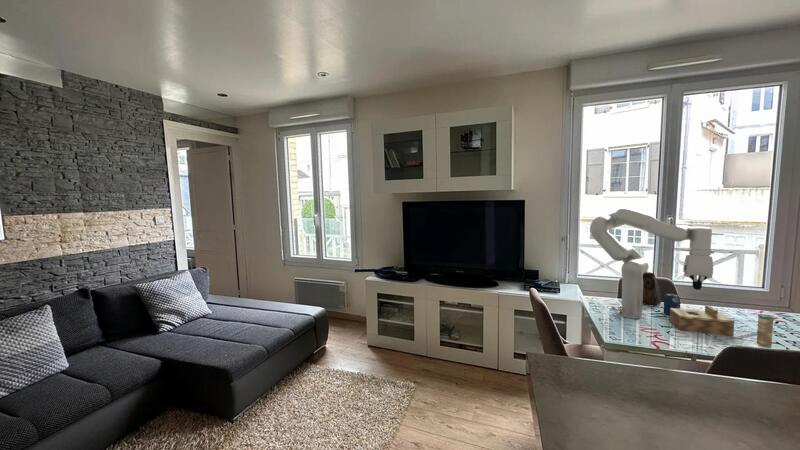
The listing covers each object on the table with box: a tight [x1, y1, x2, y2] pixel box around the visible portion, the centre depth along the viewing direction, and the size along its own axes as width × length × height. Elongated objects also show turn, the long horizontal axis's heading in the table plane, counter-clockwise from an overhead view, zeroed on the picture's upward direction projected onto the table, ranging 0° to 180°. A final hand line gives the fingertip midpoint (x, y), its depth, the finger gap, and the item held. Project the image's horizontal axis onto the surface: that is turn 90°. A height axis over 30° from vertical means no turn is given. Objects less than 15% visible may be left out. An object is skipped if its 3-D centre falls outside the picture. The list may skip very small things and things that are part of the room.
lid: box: [670, 305, 735, 324], centre depth 158 cm, size 20×12×4 cm, turn 68°
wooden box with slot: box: [669, 310, 735, 337], centre depth 158 cm, size 20×12×7 cm, turn 68°
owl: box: [643, 270, 662, 307], centre depth 199 cm, size 13×13×20 cm
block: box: [756, 313, 775, 349], centre depth 139 cm, size 4×4×14 cm
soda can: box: [663, 292, 681, 316], centre depth 177 cm, size 7×7×12 cm
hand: (696, 289), depth 157 cm, fingers closed
